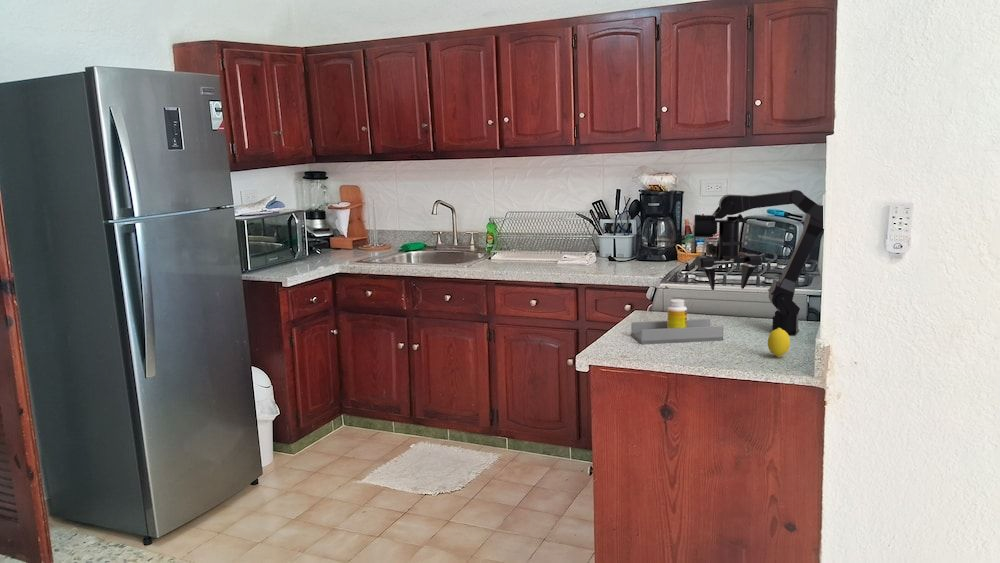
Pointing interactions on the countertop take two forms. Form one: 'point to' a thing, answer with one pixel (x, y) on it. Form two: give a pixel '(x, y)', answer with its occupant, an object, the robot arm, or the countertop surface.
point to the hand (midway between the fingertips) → (727, 289)
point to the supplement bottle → (677, 314)
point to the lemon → (778, 342)
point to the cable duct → (676, 332)
